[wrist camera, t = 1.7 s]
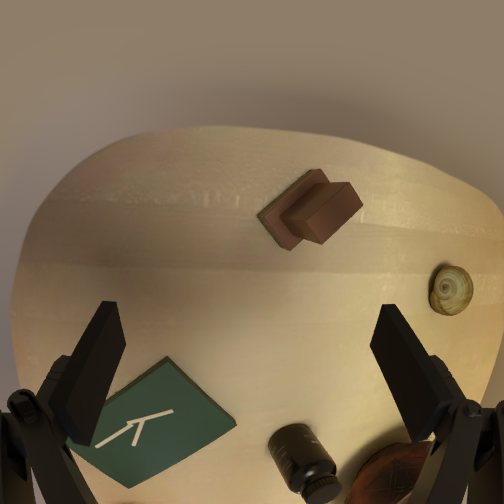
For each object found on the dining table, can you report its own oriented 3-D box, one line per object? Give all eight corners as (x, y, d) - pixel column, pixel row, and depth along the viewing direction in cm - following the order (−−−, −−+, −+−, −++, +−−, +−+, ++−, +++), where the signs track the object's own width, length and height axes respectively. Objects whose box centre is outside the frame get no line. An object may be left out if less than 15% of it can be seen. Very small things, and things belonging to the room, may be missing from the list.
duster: (280, 247, 35) (317, 263, 27) (255, 215, 34) (287, 222, 26) (331, 201, 36) (377, 205, 28) (310, 169, 34) (353, 164, 26)
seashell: (439, 281, 49) (474, 260, 43) (452, 319, 46) (489, 300, 40) (410, 282, 45) (450, 257, 38) (425, 326, 41) (468, 304, 35)
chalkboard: (59, 433, 31) (57, 438, 30) (167, 355, 33) (167, 361, 32) (128, 483, 35) (128, 489, 34) (235, 420, 37) (237, 425, 36)
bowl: (315, 461, 43) (360, 524, 29) (430, 396, 49) (484, 435, 35) (325, 519, 49) (356, 565, 35) (417, 467, 55) (454, 502, 41)
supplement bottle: (316, 420, 41) (358, 472, 30) (304, 452, 42) (339, 504, 31) (272, 424, 39) (308, 484, 28) (262, 457, 40) (292, 516, 29)
